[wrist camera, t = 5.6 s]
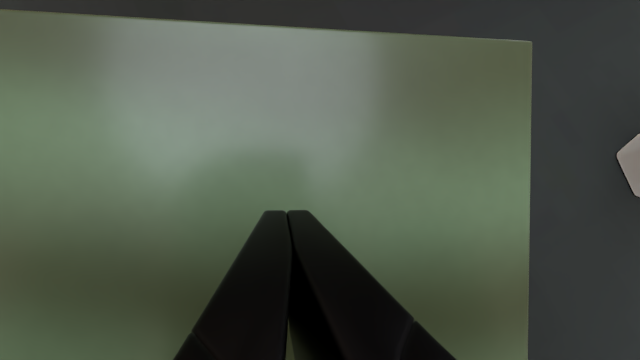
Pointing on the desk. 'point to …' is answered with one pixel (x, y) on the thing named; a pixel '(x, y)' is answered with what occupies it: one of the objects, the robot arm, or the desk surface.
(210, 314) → the robot arm
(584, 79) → the desk surface
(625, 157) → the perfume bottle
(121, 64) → the lid
